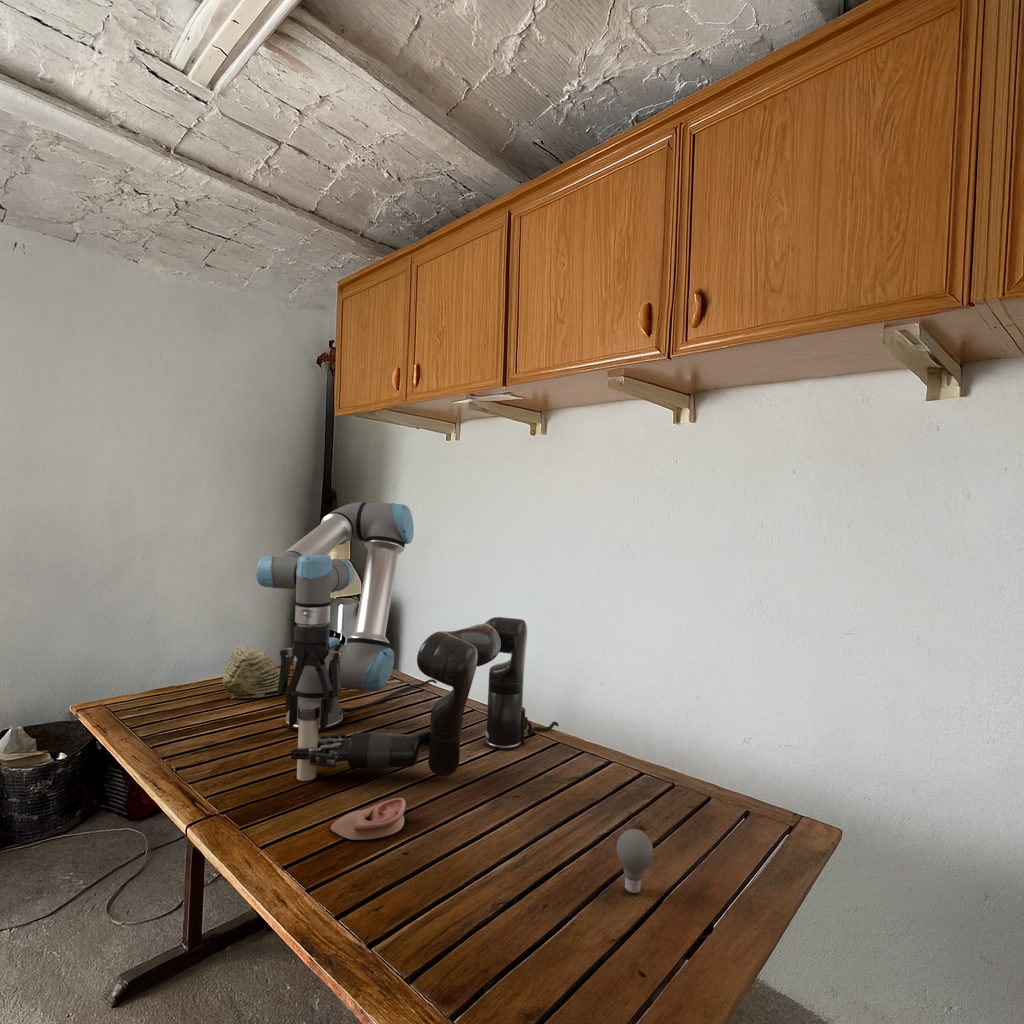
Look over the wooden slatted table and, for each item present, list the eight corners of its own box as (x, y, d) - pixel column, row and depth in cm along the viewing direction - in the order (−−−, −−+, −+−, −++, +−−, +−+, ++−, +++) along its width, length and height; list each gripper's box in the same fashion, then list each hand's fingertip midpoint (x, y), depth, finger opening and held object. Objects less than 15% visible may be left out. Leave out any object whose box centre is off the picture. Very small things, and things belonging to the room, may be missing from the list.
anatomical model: (323, 814, 118) (350, 787, 130) (322, 835, 118) (350, 806, 130) (389, 824, 116) (412, 796, 127) (389, 846, 116) (411, 816, 127)
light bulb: (610, 879, 108) (613, 822, 108) (644, 879, 109) (647, 822, 109) (619, 902, 102) (622, 840, 102) (655, 901, 103) (658, 840, 103)
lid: (302, 721, 139) (303, 710, 139) (294, 715, 143) (294, 704, 143) (323, 717, 142) (323, 706, 142) (314, 711, 146) (315, 701, 146)
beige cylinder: (292, 777, 142) (295, 708, 142) (308, 770, 146) (311, 704, 146) (304, 782, 140) (306, 713, 140) (320, 776, 143) (322, 708, 143)
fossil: (218, 695, 195) (220, 647, 195) (278, 685, 208) (279, 640, 207) (228, 703, 189) (230, 653, 188) (289, 692, 201) (290, 645, 201)
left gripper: (262, 624, 139) (258, 728, 140) (349, 629, 138) (345, 734, 138) (277, 618, 147) (273, 717, 147) (359, 623, 145) (355, 722, 146)
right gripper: (376, 722, 151) (303, 721, 150) (367, 746, 137) (286, 745, 135) (375, 754, 151) (302, 753, 150) (366, 780, 137) (285, 779, 136)
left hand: (308, 725), depth 143 cm, fingers open, 6 cm apart
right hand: (295, 749), depth 143 cm, fingers closed on beige cylinder, 4 cm apart
